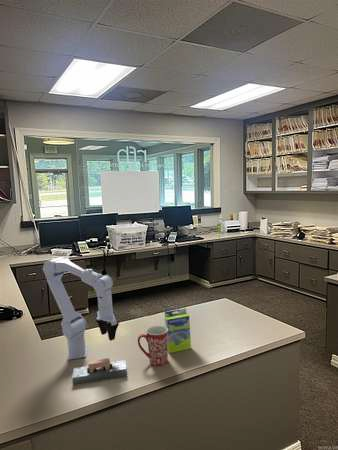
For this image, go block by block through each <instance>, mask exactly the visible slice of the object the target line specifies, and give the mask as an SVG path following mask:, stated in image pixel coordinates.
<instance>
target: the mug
mask: <svg viewBox="0 0 338 450" xmlns="http://www.w3.org/2000/svg"><path fill="white" fill-rule="evenodd" d="M145 333H146V334H145ZM145 333H144V334H139V335H138V337H137V345H138V347H139V349H140V351H142V353H143V354H144V355H145V356H146V357H147V358H148V359H149V363H150V364H151V365H152V366H155V367H156V366H157V367H158V366H159V367H160V366H163V365H165V364H167V363H168V361H169V360H168V359H169V358H168V356H169V355H168V354H169V352H168V328H166V326H164V325H154V326H153V325H152V326H150V327H148V328H146V330H145ZM141 338H144V339H145V340H146V342H147V347H148V352H147V351H146V350H145V349H144V347H142V345H141V341H140V340H141Z"/></svg>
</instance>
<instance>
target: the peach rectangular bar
mask: <svg viewBox="0 0 338 450" xmlns="http://www.w3.org/2000/svg"><path fill="white" fill-rule="evenodd" d="M110 362H111V360H110V357H109V358H102V359H95V360H89V361H88V363H87V364H88V365H87V366H88V367H89V372H90V373H93V372H94V369H95V368H101V367H105V370H110Z"/></svg>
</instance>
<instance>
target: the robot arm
mask: <svg viewBox="0 0 338 450" xmlns="http://www.w3.org/2000/svg"><path fill="white" fill-rule="evenodd" d="M42 272H43V273H44V276H45V277H46V282H47V284H48V286H49V289H50V291H51V293H52V295H53V297H54V300H55V302H56V305H57V306H58V310H60V313H61V315H62V317H63V318H62V320H61V322H60V325H61V329H62V335H63V336H64V337H65V338H66V340H67V347H68V348H67V349H68V355H67V360H68V361H70V360H76V359H82V357H83V358H86V357H87V355H88V346H86V342H85V341H86V340H85V339H86V338H85V333H86V331H85V330H86V329H87V327H88V323H87V320H86V319H85V318H84V317H83V315H82V313H81V312H77V311H76V310H75V307H74V306H73V304H72V301H71V299H70V297H69V294H68V292H67V291H66V290H67V289H66V288H65V286H64V284H63V281H62V278H63V275H64V274H65V273H66V272H68V273H69V274H72V275H74V276H77V277H79V278H80V279H81V282H83V283H85V284H87V285H89V286H90V287H92V288H93V289H94V291H95V294H96V297H97V306H98V307H97V308H98V311H96V316H97V317H96V318H95V319H94V320H95V322H96V323H97V326H98V328H99V331H100V334H101V335H102V336H104V335H106V334H107V337H108V340H109V341H110V342H112V341H114V340H115V339H116V335H117V330H118V326H119V325H120V323H119V322H118V321H117V319H116V317H115V315H114V309H113V297H112V296H113V295H112V287H113V286H114V280H113V278H112V277H111V276H109V274H105V275H103V274H102V273H98V272H95V271H94V269H92V268H86V269H84V268H82V267H81V266H79V265H78V264H75V263H74V262H72V261H71V259H70V258H68V257H66V256H59V257H55V258H52V259H50V260H46V261H45V262H44V263H43V266H42Z"/></svg>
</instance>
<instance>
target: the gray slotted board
mask: <svg viewBox="0 0 338 450" xmlns="http://www.w3.org/2000/svg"><path fill="white" fill-rule="evenodd" d="M127 376H128V371H127V364H126V360H125V359H123V360H117V361H110V370H105V367H101V368H95V369H94V372H93V373H90V372H89V367H88V365H85V366H80V367H74V368H73V372H72V376H71V378H72V379H71V380H72V386H73V385H74V386H78V384H80V385H86V384H91V383H95V382H96V381H97V382H102V380H103V381H108V380H113V379H119V378H124V377H127ZM90 382H91V383H90Z"/></svg>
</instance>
